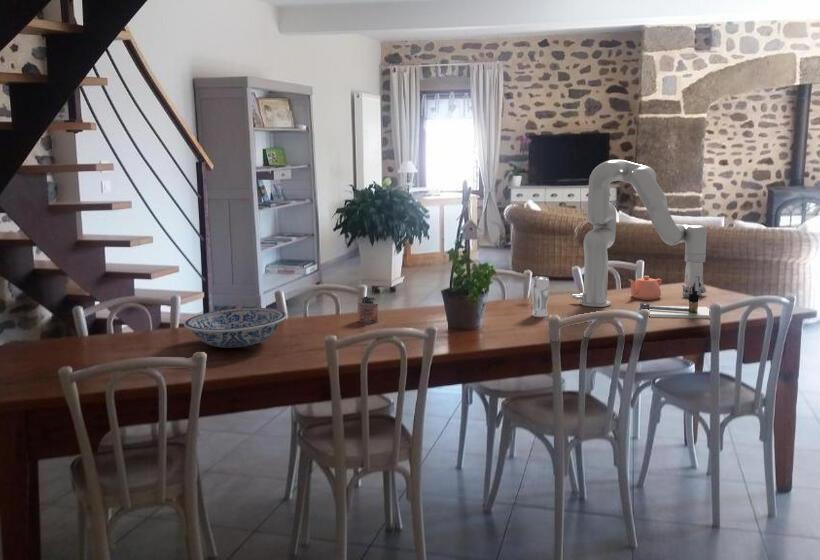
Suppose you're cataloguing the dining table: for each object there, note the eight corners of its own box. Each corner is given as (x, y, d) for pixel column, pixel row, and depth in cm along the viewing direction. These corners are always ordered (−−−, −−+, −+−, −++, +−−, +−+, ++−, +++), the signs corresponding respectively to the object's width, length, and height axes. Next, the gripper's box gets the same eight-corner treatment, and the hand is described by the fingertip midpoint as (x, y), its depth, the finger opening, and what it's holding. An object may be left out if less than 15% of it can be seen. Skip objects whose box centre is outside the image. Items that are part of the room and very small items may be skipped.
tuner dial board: (645, 317, 290) (645, 314, 290) (639, 308, 306) (639, 305, 306) (716, 319, 286) (716, 316, 286) (706, 309, 302) (706, 306, 302)
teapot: (670, 298, 326) (671, 276, 324) (637, 302, 318) (638, 280, 317) (650, 293, 336) (651, 272, 335) (618, 297, 329) (619, 275, 327)
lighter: (357, 321, 291) (356, 296, 289) (362, 319, 294) (361, 294, 292) (375, 323, 287) (375, 297, 285) (380, 321, 290) (379, 296, 288)
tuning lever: (639, 309, 298) (639, 299, 297) (640, 307, 301) (640, 297, 300) (697, 313, 290) (697, 303, 289) (697, 311, 293) (698, 301, 292)
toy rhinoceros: (678, 301, 330) (673, 284, 327) (696, 288, 335) (691, 272, 332) (691, 304, 324) (686, 287, 321) (709, 291, 328) (705, 274, 326)
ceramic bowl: (224, 329, 281) (223, 303, 280) (305, 336, 269) (304, 309, 267) (163, 353, 250) (161, 324, 248) (252, 363, 238) (250, 332, 236)
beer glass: (547, 313, 300) (548, 276, 297) (549, 317, 293) (550, 279, 290) (530, 313, 300) (530, 276, 298) (531, 317, 294) (531, 279, 291)
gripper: (681, 254, 299) (679, 300, 302) (689, 260, 285) (687, 307, 288) (700, 254, 298) (699, 300, 301) (709, 260, 284) (708, 308, 287)
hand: (693, 303), depth 295 cm, fingers closed
